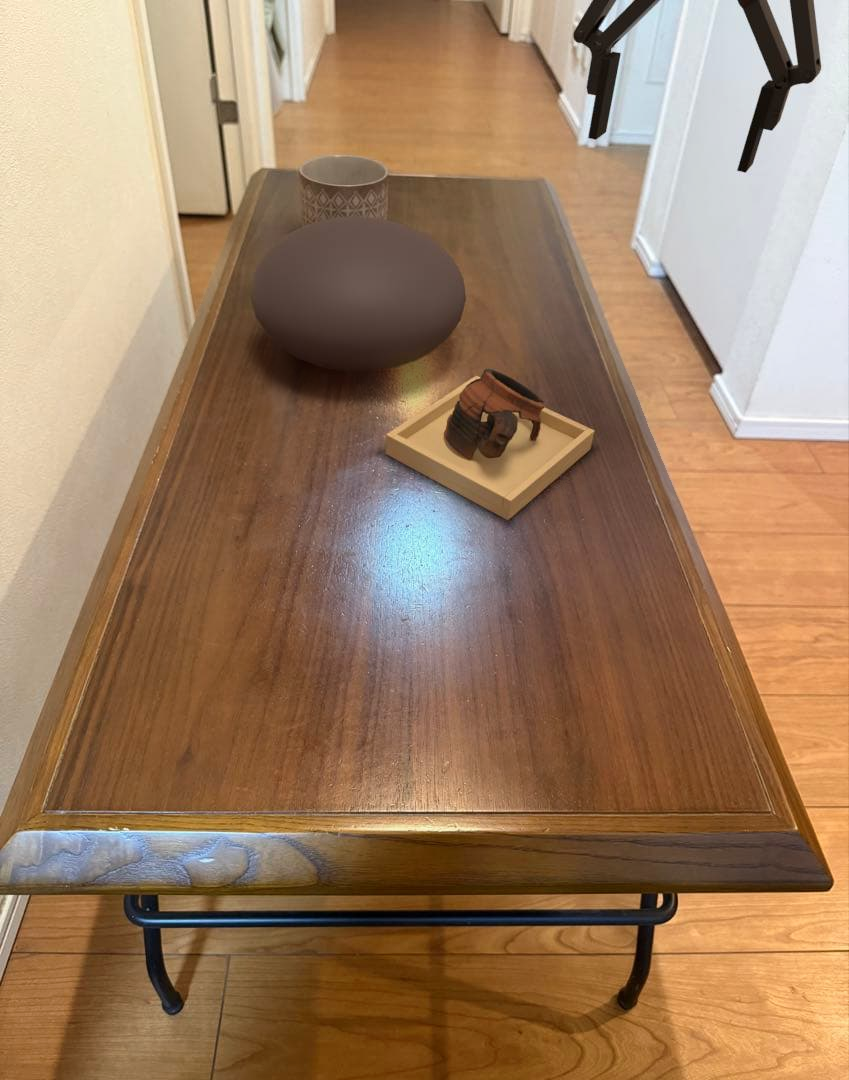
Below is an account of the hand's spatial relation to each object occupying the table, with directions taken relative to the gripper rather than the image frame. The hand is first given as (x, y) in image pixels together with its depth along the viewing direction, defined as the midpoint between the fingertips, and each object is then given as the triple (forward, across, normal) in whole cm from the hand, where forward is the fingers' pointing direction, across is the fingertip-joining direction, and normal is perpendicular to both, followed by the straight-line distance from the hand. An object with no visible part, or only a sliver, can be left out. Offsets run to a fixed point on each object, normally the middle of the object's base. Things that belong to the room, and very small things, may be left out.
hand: (668, 151), depth 74 cm
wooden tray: (+29, +8, +13) cm, 32 cm away
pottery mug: (+28, +8, +13) cm, 32 cm away
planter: (+29, +50, -23) cm, 62 cm away
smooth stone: (+29, +31, +3) cm, 42 cm away
